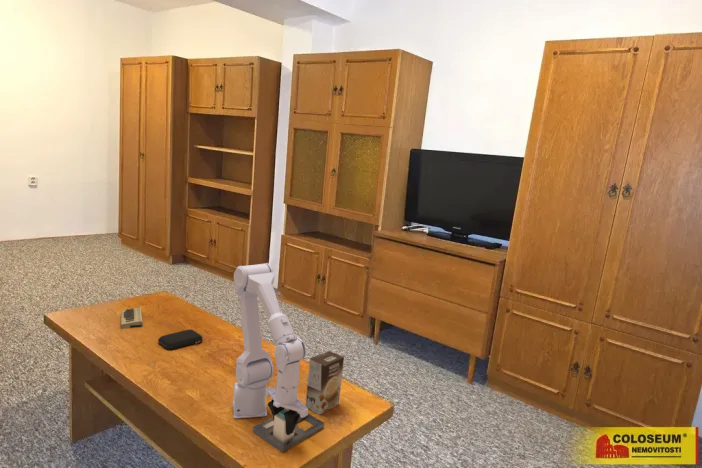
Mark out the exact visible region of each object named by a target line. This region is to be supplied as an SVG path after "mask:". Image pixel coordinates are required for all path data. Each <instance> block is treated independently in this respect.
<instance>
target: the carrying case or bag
mask: <svg viewBox="0 0 702 468" xmlns="http://www.w3.org/2000/svg"><path fill="white" fill-rule="evenodd" d="M203 338H204V337H203V336H202V335H201V334H200V333H198V332H197V331H196V330H194V329H184V330H182V331H178V332H172V333H168V334H164V335H161V336H160V337H159V338H158V340H157V341H158V343H159V344H160V345H162V346H163V347H164V348H165V349H167V350H169V351H173V350H176V349H180V348H183V347H184V348H185V347H187V346H192V345H197V344H198V343H201V341H203Z"/></svg>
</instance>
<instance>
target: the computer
mask: <svg viewBox="0 0 702 468" xmlns="http://www.w3.org/2000/svg"><path fill="white" fill-rule="evenodd" d="M120 328H121V329H123V330H124V329H134V328H136V329H137V328H144V322H143V312H142V308H141V307H134V308H133V307H132V308H128V309H123V310H121V311H120Z"/></svg>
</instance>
